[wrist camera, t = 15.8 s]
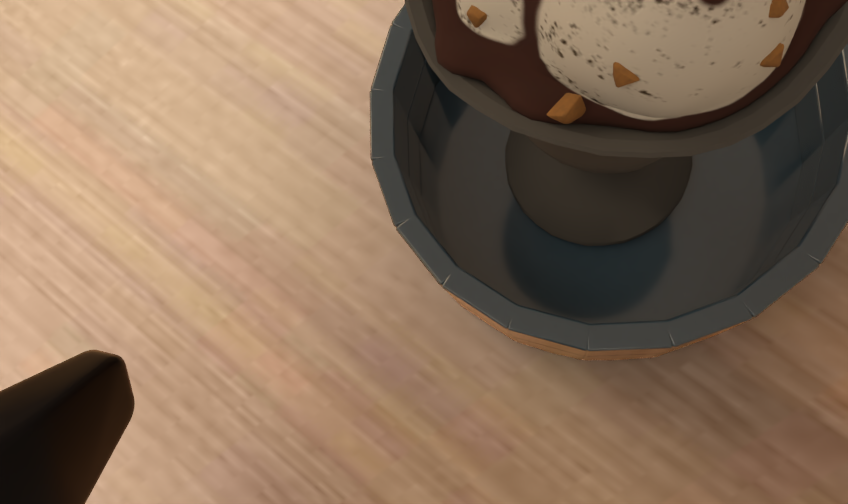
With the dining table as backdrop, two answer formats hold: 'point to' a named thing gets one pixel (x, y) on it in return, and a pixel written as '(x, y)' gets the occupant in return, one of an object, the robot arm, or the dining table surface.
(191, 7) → the dining table surface
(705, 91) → the sundae
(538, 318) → the dark grey round dish
